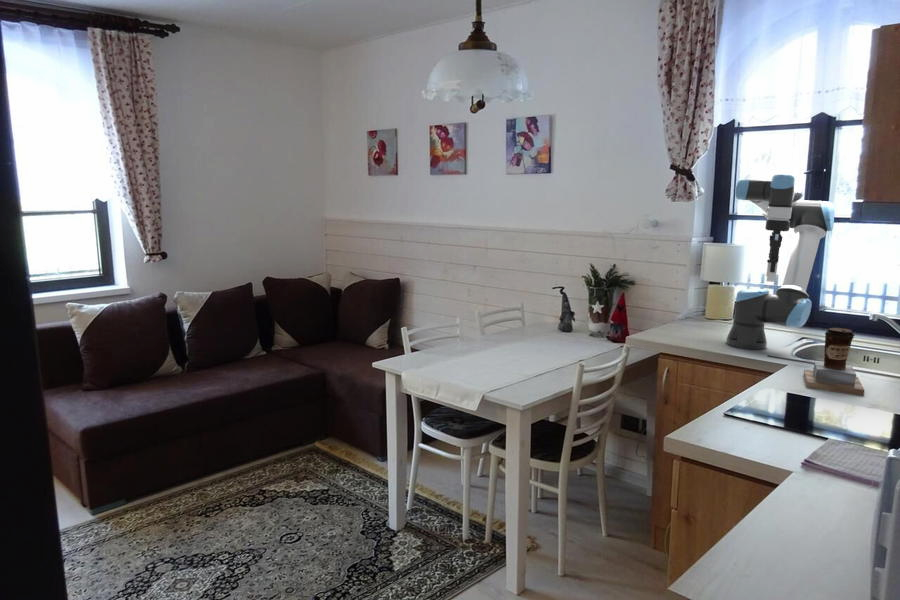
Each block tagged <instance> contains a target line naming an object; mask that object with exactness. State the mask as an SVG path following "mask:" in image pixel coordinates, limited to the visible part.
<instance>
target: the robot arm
mask: <svg viewBox="0 0 900 600" xmlns="http://www.w3.org/2000/svg"><path fill="white" fill-rule="evenodd" d="M796 178H797V176H795V175H794V174H774V175H772V178H771V180H769V179H767V180H762V179H740V180H738V181H737V183H736V184H735V188H734V189H735V190H734V196H735V198H736V199H737V200H739V201H748V202H750V203H751V204H752V205H753V206H755V208H757V209H759V210H760V211H761V213H762V216H763V217H764V218H765V219H766V222H765V230H766V231H772V232H771V234H770V235H769V239H768V240H769V244H768V245H769V253H768V259H767V260H766V261H767V262H766V263H767V268H766V274H765V275H766V282H772V283H776V280H777V279H776V278H777V271H778V265H779V264H778V263H779V258H780V256H779V254H780V248H781V246H782V241H783V235H782V234H781V232H789V230H790V229H793V232H794V233H795V235H796V236H795V239H794V242H793V243H794V244H793V246H792V249H791V253H790V258H789V261H788V263H787V268H786V271H785V275H784V278H783V282H782V284H781V287H779V288H777V289H776V291H775V294H772V293H770V291H769V289H764V288H749V289H747V288H746V289H741V290H739V291H737V293H736V298H735V304H734V314H733V321H732V325H731V328H730V330H729V332H728V334H727V336H726V340H725V343H726V344H727V345H729V346H732V347H735V348H740V349H746V350H765V349H766V348H767V345H768V342H767V335H766V331H765V324H771V325H775V326H782V327H787V328H801V327H803V326H805V324H806V322H807V321H808V319H809V317H810V315H811V309H812V307H813V306H812V305H813V304H812V301H811V299H809V298H810V297H809V296H810V295H809V294H808V293H807V289H808V286H809V281H810V277H811V274H812V271H813V267H814V263H815V259H816V256H817V253H818V249H819V246H820V241H821V239H823V238H825V237H826V236H827V235H826V234H827V232H832V231H833V229H834V225H835V209H834V204H833V203H832V202H830V201H825V200H823V201H822V200H805V199H804V200H802V198H803V196H804V194H805V187H804V186H803V184H802V183H800V182H799V181H796Z"/></svg>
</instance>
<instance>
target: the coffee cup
mask: <svg viewBox="0 0 900 600" xmlns="http://www.w3.org/2000/svg"><path fill="white" fill-rule="evenodd" d="M824 336H825V337H824V338H825V339H824V350H823V351H824V352H823V353H824V354H823V355H824V357H823V362H824V366H825V367H827V368H831V369H840V370H843V369H846V365H847V363H846V362H847V360H848V357H849V355H850V351H851V346H852V342H853V340H854V338H855V334H854V333H853V330H851V329H848V328H840V327H831V328H828V329H827V330H826V331H825V333H824Z"/></svg>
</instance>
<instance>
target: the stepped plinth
mask: <svg viewBox="0 0 900 600" xmlns="http://www.w3.org/2000/svg"><path fill="white" fill-rule="evenodd" d="M854 369H855V368H854V367H853V366H852V365H847V364H846V369H843V370H840V369H831V368H827V367H825V366H824V361H816V360H815V361H814V364H813V369H812V370H811V369H804V370H803V378H805V379H804V382H805V387H809V388H808V389H813V388H815V389H814V390H820V389H822V390H821V391H826V390H829V391H828V392H833V391H834V393H840V394H841V393H842V394H848V395H853V396H854V395H855V396H861V397H862V396H863V397H864V396H865V388H864V386H863V385H862V382H861V381H860V379H859V377H858V376H857V373H856V372H855V370H854Z"/></svg>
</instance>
